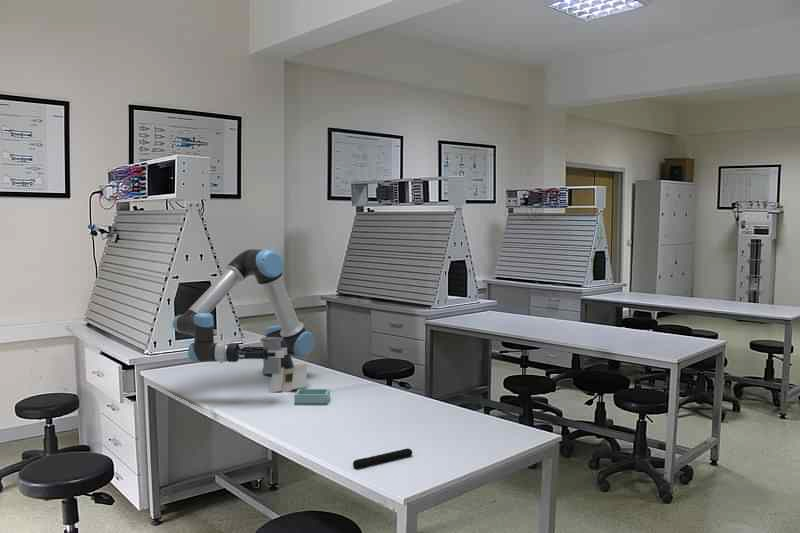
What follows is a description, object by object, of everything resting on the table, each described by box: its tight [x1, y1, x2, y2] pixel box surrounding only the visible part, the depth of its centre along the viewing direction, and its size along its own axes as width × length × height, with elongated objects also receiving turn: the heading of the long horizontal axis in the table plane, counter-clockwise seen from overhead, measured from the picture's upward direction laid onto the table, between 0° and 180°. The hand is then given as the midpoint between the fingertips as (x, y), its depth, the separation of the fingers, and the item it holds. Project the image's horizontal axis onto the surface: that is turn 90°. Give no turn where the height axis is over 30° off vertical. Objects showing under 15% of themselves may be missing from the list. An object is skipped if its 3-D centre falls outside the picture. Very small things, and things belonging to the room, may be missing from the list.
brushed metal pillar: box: [260, 336, 283, 375], centre depth 246 cm, size 4×8×14 cm, turn 88°
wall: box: [268, 363, 308, 393], centre depth 268 cm, size 16×9×15 cm
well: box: [293, 388, 331, 406], centre depth 247 cm, size 9×13×4 cm
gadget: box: [352, 447, 413, 470], centre depth 185 cm, size 2×2×20 cm
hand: (285, 352), depth 246 cm, fingers closed on brushed metal pillar, 4 cm apart
